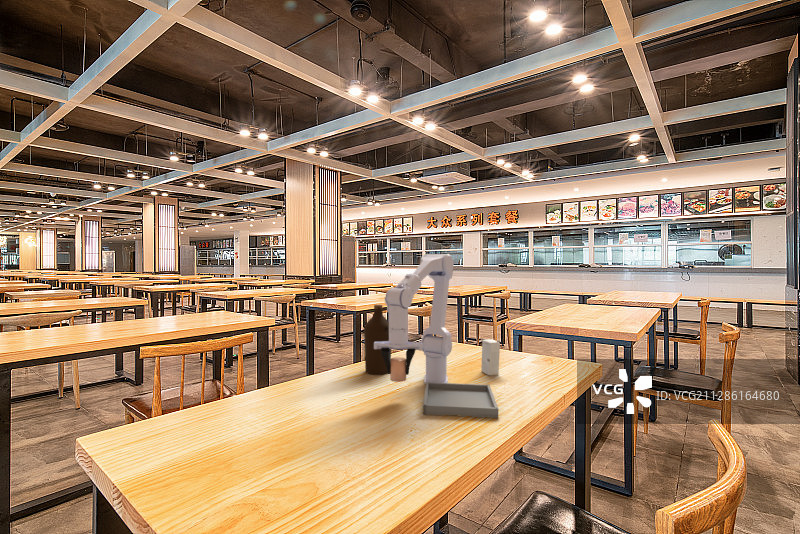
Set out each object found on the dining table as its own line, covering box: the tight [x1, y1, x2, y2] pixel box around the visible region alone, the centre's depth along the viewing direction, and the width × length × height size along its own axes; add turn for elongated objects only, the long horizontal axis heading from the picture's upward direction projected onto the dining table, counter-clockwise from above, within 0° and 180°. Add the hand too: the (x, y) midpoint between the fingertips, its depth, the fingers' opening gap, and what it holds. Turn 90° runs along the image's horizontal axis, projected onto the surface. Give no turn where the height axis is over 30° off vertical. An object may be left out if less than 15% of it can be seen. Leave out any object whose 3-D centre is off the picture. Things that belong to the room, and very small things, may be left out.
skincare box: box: [480, 338, 501, 376], centre depth 144 cm, size 6×4×12 cm
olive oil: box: [363, 304, 389, 376], centre depth 145 cm, size 11×11×25 cm
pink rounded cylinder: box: [389, 356, 407, 383], centre depth 115 cm, size 5×5×6 cm
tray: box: [422, 382, 499, 419], centre depth 114 cm, size 20×20×2 cm
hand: (398, 373), depth 115 cm, fingers closed on pink rounded cylinder, 5 cm apart
